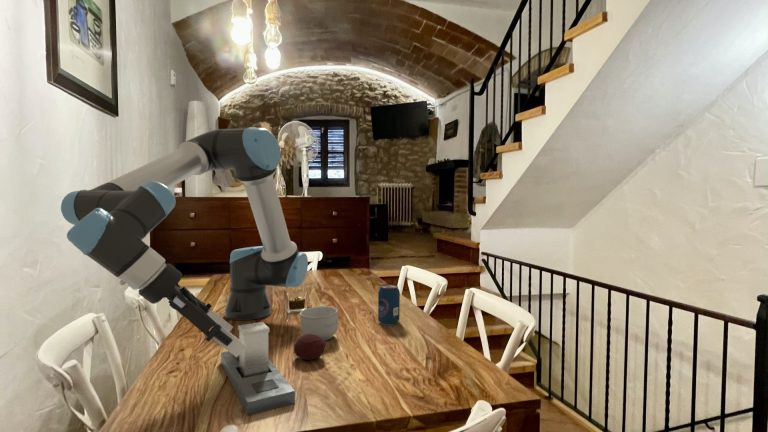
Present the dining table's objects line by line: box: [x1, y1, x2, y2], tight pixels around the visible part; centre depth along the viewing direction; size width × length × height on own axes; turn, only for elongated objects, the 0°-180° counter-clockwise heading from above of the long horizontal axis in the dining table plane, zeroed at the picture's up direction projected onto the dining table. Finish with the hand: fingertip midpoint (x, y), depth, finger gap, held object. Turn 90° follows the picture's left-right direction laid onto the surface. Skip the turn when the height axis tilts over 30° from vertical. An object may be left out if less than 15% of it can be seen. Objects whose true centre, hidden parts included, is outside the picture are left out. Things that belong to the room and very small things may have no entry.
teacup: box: [299, 304, 339, 341], centre depth 119 cm, size 14×11×8 cm
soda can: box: [377, 283, 401, 326], centre depth 132 cm, size 7×7×12 cm
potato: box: [293, 334, 326, 360], centre depth 102 cm, size 7×8×6 cm
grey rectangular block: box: [237, 321, 270, 378], centre depth 89 cm, size 5×5×12 cm
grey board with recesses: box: [220, 350, 296, 416], centre depth 89 cm, size 28×9×3 cm, turn 31°
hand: (234, 340), depth 86 cm, fingers open, 13 cm apart
